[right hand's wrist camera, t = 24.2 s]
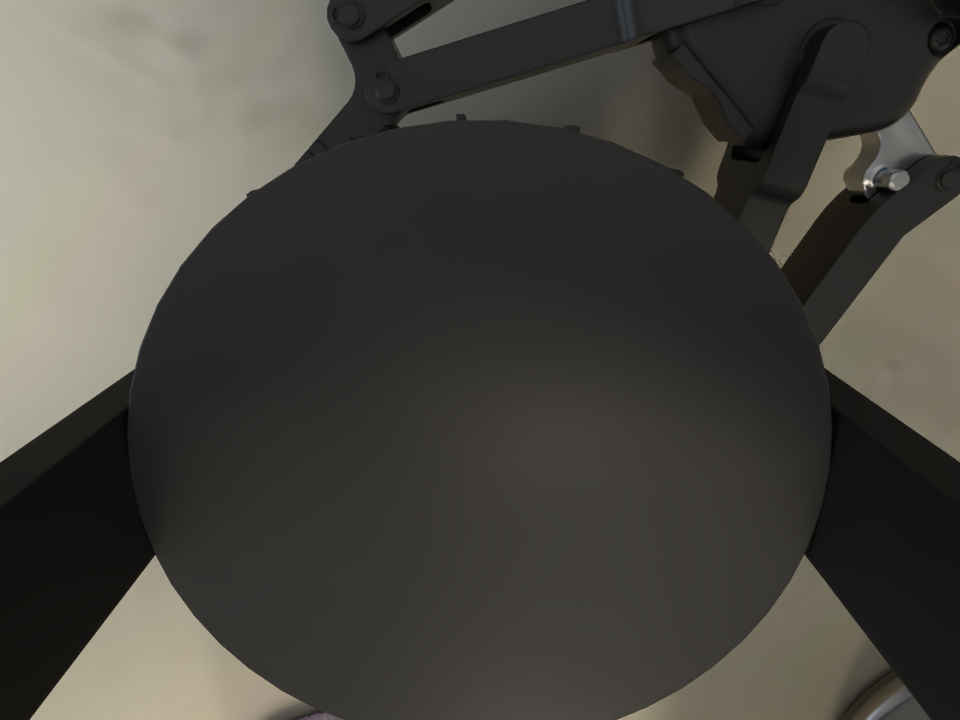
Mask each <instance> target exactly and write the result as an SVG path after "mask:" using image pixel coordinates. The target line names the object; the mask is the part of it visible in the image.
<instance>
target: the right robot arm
mask: <svg viewBox="0 0 960 720" xmlns="http://www.w3.org/2000/svg"><path fill="white" fill-rule="evenodd" d="M824 369H825V368H824ZM134 371H135V369H134V370H133V371H131V372H130V373H128V374H127V375H126V376H124V377H123V378H121V379H120V380H118V381H117V382H116V383H114V384H113V385H111V386H110V387H108V388H107V389H105V390H104V391H103V392H101V393H100V394H98V395H97V396H95V397H94V398H93V399H91V400H90V401H88V402H87V403H85V404H84V405H82V406H81V407H80V408H78V409H77V410H75V411H74V412H72V413H71V414H70V415H68V416H67V417H65V418H64V419H62V420H61V421H59V422H58V423H57V424H55V425H54V426H52V427H51V428H49V429H48V430H46V431H45V432H44V433H42V434H41V435H39V436H38V437H36V438H35V439H34V440H32V441H31V442H29V443H28V444H26V445H25V446H23V447H22V448H21V449H19V450H18V451H16V452H15V453H13V454H12V455H11V456H9V457H8V458H6V459H5V460H3V461H2V462H0V720H30V718H31V717H32V716H33V714H34V713H35V712H36V711H37V709H38V708H39V707H40V705H41V704H42V703H43V701H44V700H45V699H46V697H47V696H48V695H49V693H50V692H51V691H52V690H53V688H54V687H55V686H56V684H57V683H58V682H59V680H60V679H61V678H62V676H63V675H64V674H65V672H66V671H67V670H68V669H69V667H70V666H71V665H72V663H73V662H74V661H75V659H76V658H77V657H78V655H79V654H80V653H81V652H82V650H83V649H84V648H85V646H86V645H87V644H88V642H89V641H90V640H91V638H92V637H93V636H94V634H95V633H96V632H97V631H98V629H99V628H100V627H101V625H102V624H103V623H104V621H105V620H106V619H107V617H108V616H109V615H110V613H111V612H112V611H113V610H114V608H115V607H116V606H117V604H118V603H119V602H120V600H121V599H122V598H123V596H124V595H125V594H126V593H127V591H128V590H129V589H130V587H131V586H132V585H133V583H134V582H135V581H136V579H137V578H138V577H139V575H140V574H141V573H142V572H143V570H144V569H145V568H146V566H147V565H148V564H149V562H150V561H151V560H152V558H153V557H154V556H155V553H154V551H153V549H152V547H151V544H150V541H149V539H148V536H147V533H146V531H145V528H144V525H143V523H142V520H141V517H140V513H139V509H138V504H137V500H136V495H135V491H134V486H133V481H132V477H131V472H130V466H129V455H128V441H127V424H128V411H129V398H130V388H131V384H132V380H133V376H134ZM825 373H826V377H827V381H828V385H829V394H830V405H831V416H832V427H833V430H832V447H831V463H830V473H829V477H828V482H827V487H826V491H825V496H824V501H823V505H822V510H821V513H820V515H819V518H818V521H817V524H816V526H815V529H814V532H813V535H812V538H811V540H810V543H809V546H808V548H807V550H806V552H805V555H806V557H807V558H808V559H809V560H810V562H811V563H812V564H813V566H814V567H815V568H816V570H817V571H818V572H819V574H820V575H821V576H822V578H823V579H824V580H825V581H826V583H827V584H828V585H829V587H830V588H831V589H832V591H833V592H834V593H835V595H836V596H837V597H838V598H839V600H840V601H841V602H842V604H843V605H844V606H845V608H846V609H847V610H848V612H849V613H850V614H851V616H852V617H853V618H854V619H855V621H856V622H857V623H858V625H859V626H860V627H861V629H862V630H863V631H864V633H865V634H866V635H867V637H868V638H869V639H870V640H871V642H872V643H873V644H874V646H875V647H876V648H877V650H878V651H879V652H880V654H881V655H882V656H883V657H884V659H885V660H886V661H887V663H888V664H889V665H890V667H891V668H892V669H893V671H894V672H895V673H896V675H897V676H898V677H899V678H900V680H901V681H902V682H903V684H904V685H905V686H906V688H907V689H908V690H909V692H910V693H911V694H912V696H913V697H914V698H915V699H916V701H917V702H918V703H919V705H920V706H921V707H922V709H923V710H924V711H925V713H926V714H927V715H928V716H929V718H930V719H931V720H960V462H959V461H957V460H956V459H954V458H953V457H951V456H950V455H949V454H947V453H946V452H944V451H943V450H941V449H940V448H938V447H937V446H936V445H934V444H933V443H931V442H930V441H928V440H927V439H926V438H924V437H923V436H921V435H920V434H918V433H917V432H915V431H914V430H913V429H911V428H910V427H908V426H907V425H905V424H904V423H902V422H901V421H900V420H898V419H897V418H895V417H894V416H892V415H891V414H890V413H888V412H887V411H885V410H884V409H882V408H881V407H879V406H878V405H877V404H875V403H874V402H872V401H871V400H869V399H868V398H867V397H865V396H864V395H862V394H861V393H859V392H858V391H856V390H855V389H854V388H852V387H851V386H849V385H848V384H846V383H845V382H844V381H842V380H841V379H839V378H838V377H836V376H835V375H833V374H832V373H831V372H829V371H828V370H826V369H825Z"/></svg>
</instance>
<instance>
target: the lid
mask: <svg viewBox="0 0 960 720" xmlns="http://www.w3.org/2000/svg"><path fill="white" fill-rule="evenodd" d="M456 119H457V121H444V122H437V123H430V124H423V125H417V126H410V127H403V128H396V129H392V130H389V131H385V132H382V133H379V134H375V135H372V136H368V137H365V138H363V136H353V137H347V138H344V139H343V142H344V144H342V145H339V146H337V147H335V148H333V149H331V150H328V151H326V152H324V153H322V154H320V155H318V156H315V157H313V158H311V159H309V160H307V161H305V162H302V163H300V164H298V165H296V166H294V167H292V168H290V169H289V170H287V171H286V172H284V173H283V174H281V175H280V176H278V177H277V178H275V179H274V180H272V181H270V182H269V183H267V184H266V185H264V186H263V187H261V188H260V189H257V190H253V191H251V192H249V193H248V194H247V198H246V199H245V200H244V201H242V202H241V203H240V204H239V205H238V206H237V207H236V208H234V209H233V210H232V211H231V212H230V213H229V214H228V215H227V216H225V217H224V218H223V219H222V220H221V221H220V222H219V223H218V224H216V225H215V226H214V227H213V228H212V229H211V230H210V231H209V233H208V234H207V235H206V236H205V237H204V239H203V240H202V241H201V242H200V243H199V245H198V246H197V247H196V248H195V249H194V251H193V252H192V253H191V254H190V255H189V257H188V258H187V259H186V260H185V261H184V263H183V264H182V265H181V267H180V268H179V270H178V272H177V273H176V275H175V277H174V278H173V280H172V281H171V283H170V285H169V286H168V288H167V290H166V291H165V293H164V295H163V296H162V298H161V300H160V301H159V303H158V305H157V307H156V309H155V312H154V314H153V317H152V319H151V322H150V324H149V327H148V329H147V332H146V334H145V336H144V339H143V341H142V344H141V346H140V350H139V354H138V359H137V363H136V367H135V371H134V376H133V380H132V384H131V388H130V398H129V411H128V424H127V441H128V455H129V466H130V472H131V477H132V481H133V486H134V491H135V495H136V500H137V504H138V509H139V513H140V517H141V520H142V523H143V525H144V528H145V531H146V533H147V536H148V539H149V541H150V544H151V547H152V549H153V551H154V553H155V555H156V557H157V558H158V560H159V562H160V564H161V566H162V568H163V570H164V571H165V573H166V575H167V577H168V579H169V581H170V583H171V584H172V586H173V587H174V588H175V590H176V591H177V593H178V594H179V595H180V597H181V598H182V600H183V601H184V602H185V604H186V605H187V606H188V608H189V609H190V611H191V612H192V613H193V615H194V616H195V617H196V618H197V619H198V620H199V621H200V623H201V624H202V625H203V626H204V627H205V628H206V629H207V630H208V631H209V632H210V633H211V634H212V635H213V637H214V638H215V639H216V640H217V641H218V642H219V643H220V644H221V645H222V646H223V647H225V648H226V649H227V650H228V651H229V652H230V653H232V654H233V655H234V656H235V657H236V658H237V659H239V660H240V661H241V662H242V663H243V664H244V665H246V666H247V667H248V668H249V669H250V670H252V671H253V672H255V673H256V674H258V675H259V676H261V677H262V678H264V679H265V680H267V681H268V682H270V683H271V684H273V685H274V686H276V687H277V688H278V689H280V690H282V691H283V692H285V693H287V694H289V695H291V696H293V697H295V698H297V699H298V700H300V701H302V702H304V703H306V704H308V705H310V706H312V707H313V708H316V709H318V710H320V711H323V712H325V713H328V714H330V715H333V716H335V717H338V718H340V719H343V720H617V719H620V718H622V717H624V716H627V715H629V714H632V713H634V712H636V711H639V710H641V709H644V708H646V707H648V706H650V705H652V704H654V703H656V702H657V701H659V700H661V699H663V698H665V697H667V696H668V695H670V694H672V693H674V692H676V691H678V690H679V689H681V688H683V687H684V686H686V685H687V684H689V683H690V682H691V681H693V680H694V679H696V678H697V677H699V676H700V675H702V674H703V673H704V672H706V671H707V670H709V669H710V668H712V667H713V666H714V665H715V664H716V663H718V662H719V661H720V660H721V659H722V658H723V657H724V656H726V655H727V654H728V653H729V652H730V651H731V650H733V649H734V648H735V647H736V646H737V645H738V644H739V643H741V642H742V641H743V640H744V638H745V637H746V636H747V635H748V634H749V633H750V632H751V631H752V630H753V628H754V627H755V626H756V625H757V624H758V623H759V622H760V621H761V620H762V619H763V617H764V616H765V615H766V614H767V613H768V612H769V610H770V609H771V607H772V606H773V605H774V603H775V602H776V600H777V599H778V597H779V596H780V595H781V593H782V592H783V590H784V589H785V587H786V586H787V585H788V583H789V582H790V580H791V578H792V576H793V574H794V573H795V571H796V569H797V567H798V565H799V563H800V561H801V559H802V557H803V555H804V554H805V552H806V550H807V548H808V546H809V543H810V540H811V538H812V535H813V532H814V529H815V526H816V524H817V521H818V518H819V515H820V513H821V510H822V505H823V501H824V496H825V491H826V487H827V482H828V477H829V473H830V463H831V447H832V430H833V427H832V416H831V405H830V394H829V385H828V381H827V377H826V373H825V369H824V365H823V361H822V357H821V353H820V349H819V345H818V342H817V340H816V337H815V335H814V333H813V330H812V328H811V325H810V323H809V321H808V318H807V316H806V314H805V311H804V309H803V307H802V304H801V302H800V300H799V299H798V297H797V295H796V294H795V292H794V290H793V289H792V287H791V286H790V284H789V282H788V281H787V279H786V278H785V276H784V274H783V273H782V271H781V270H780V268H779V266H778V265H777V263H776V262H775V260H774V259H773V258H772V257H771V256H770V255H769V253H768V252H767V251H766V250H765V249H764V248H763V246H762V244H761V243H760V242H759V241H758V240H757V239H756V238H755V237H754V236H753V235H752V234H751V232H750V231H749V230H748V229H747V228H746V227H745V225H744V224H742V223H741V222H740V221H739V220H738V219H737V218H735V217H734V216H733V215H732V214H731V213H730V212H728V211H727V210H726V209H725V208H724V207H723V206H721V205H720V204H719V203H718V202H717V201H716V200H715V199H713V198H712V197H711V196H710V195H709V194H708V193H706V192H705V191H703V190H702V189H700V188H699V187H697V186H695V185H694V184H692V183H691V182H689V181H687V180H686V179H684V178H683V177H682V176H683V175H684V173H682V172H681V171H679V170H676V169H671V168H667V167H665V166H664V165H662V164H660V163H658V162H655V161H653V160H651V159H649V158H646V157H644V156H642V155H640V154H637V153H635V152H633V151H631V150H628V149H626V148H624V147H622V146H619V145H617V144H615V143H612V142H609V141H605V140H602V139H598V138H595V137H591V136H588V135H584V134H581V133H579V132H580V128H581V127H578V126H575V125H572V126H564V127H563V128H558V127H551V126H543V125H536V124H529V123H521V122H514V121H506V120H479V121H466V116H465V115H464V114H457V115H456Z"/></svg>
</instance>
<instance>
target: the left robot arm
mask: <svg viewBox="0 0 960 720" xmlns="http://www.w3.org/2000/svg"><path fill="white" fill-rule="evenodd" d="M453 1H454V0H330V2H329V5H328V8H327V19H328V21H329V24H330V27H331V29H332V30H333V31H334V32H335V34H336V35H337V36H338V38H339V40H340V42H341V44H342V46H343V48H344V50H345V52H346V54H347V56H348V58H349V60H350V62H351V64H352V67H353V69H354V72H355V79H356V82H355V89H354V92H353V95H352V97H351V98H350V100H349V101H348V103H347V104H346V105H345V106H344V107H343V109H342V110H341V111H340V112H339V113H338V114H337V116H336V117H335V118H334V119H333V120H332V122H331V123H330V124H329V125H328V126H327V127H326V129H325V130H324V131H323V132H322V133H321V135H320V136H319V137H318V139H317V140H315V142H314V143H313V144H312V145H311V146H310V148H309V149H308V150H307V151H306V152H305V153H304V155H303V156H302V157H301V158H300V159H299V161H298V162H297V163H296V164H295V165H294V166H296V165H298V164H300V163H302V162H305V161H307V160H309V159H311V158H313V157H315V156H318V155H320V154H322V153H324V152H326V151H328V150H331V149H333V148H335V147H337V146H339V145H342V144H344V142H343V139H344V138H347V137H353V136H363V138H365V137H368V136H372V135H375V134H379V133H382V132H385V131H389V130H392V129H396V128H399V127H398V126H397V124H398V123H399V122H400V121H401V120H402V118H403V117H404V116H407V114H410V113H413V112H416V111H419V110H423V109H426V108H429V107H433V106H436V105H439V104H442V103H446V102H449V101H452V100H456V99H459V98H462V97H466V96H469V95H472V94H475V93H479V92H482V91H485V90H489V89H492V88H495V87H498V86H502V85H505V84H508V83H512V82H515V81H518V80H522V79H525V78H528V77H531V76H535V75H538V74H541V73H545V72H548V71H551V70H554V69H558V68H561V67H564V66H568V65H571V64H574V63H578V62H581V61H584V60H587V59H591V58H594V57H597V56H601V55H604V54H609V53H613V52H617V51H620V50H623V49H627V48H630V47H633V46H637V45H640V44H643V43H647V42H650V41H651V43H652V48H653V51H654V54H655V57H656V58H655V59H654V61H653V62H652V63H653V64H654V65H655V67H656V68H657V69H658V70H659V71H660V72H661V74H662V75H663V76H664V77H665V78H666V80H667V81H668V82H669V83H671V84H672V85H674V86H675V87H677V88H678V89H680V90H681V91H683V92H684V93H686V94H687V95H689V96H690V97H691V98H692V100H693V102H694V104H695V107H696V109H697V111H698V114H699V116H700V118H701V120H702V123H703V124H704V125H705V126H706V127H707V129H708V130H709V131H710V132H711V133H712V135H713V136H714V137H715V138H716V139H717V141H724V142H728V146H727V148H726V151H725V154H724V156H723V159H722V162H721V164H720V167H719V170H718V175H717V182H718V187H717V191H716V194H715V196H714V199H715V200H716V201H717V202H718V203H719V204H720V205H721V206H723V207H724V208H725V209H726V210H727V211H728V212H730V213H731V214H732V215H733V216H734V217H735V218H737V219H738V220H739V221H740V222H741V223H742V224H744V225H745V227H746V228H747V229H748V230H749V231H750V232H751V234H752V235H753V236H754V237H755V238H756V239H757V240H758V241H759V242H760V243H761V244H762V246H763V248H764V249H765V250H766V251H767V252H768V253H769V252H770V249H771V247H772V245H773V242H774V240H775V237H776V235H777V233H778V230H779V228H780V226H781V223H782V221H783V218H784V216H785V214H786V211H787V209H788V208H789V206H790V205H791V204H792V203H793V202H794V201H796V200H797V199H798V198H799V197H800V196H801V195H802V193H803V192H804V190H805V188H806V186H807V184H808V182H809V179H810V177H811V175H812V172H813V170H814V168H815V165H816V163H817V161H818V158H819V156H820V153H821V151H822V149H823V146H824V144H825V142H826V140H831V139H837V138H843V137H849V136H855V135H860V137H861V140H862V148H861V152H860V154H859V156H858V158H857V159H856V161H855V162H854V163H853V164H852V166H850V167H849V168H847V169H846V171H845V172H844V175H843V180H844V182H845V183H846V188H845V189H844V190H843V191H842V192H841V193H839V194H838V195H837V196H836V197H835V198H834V199H833V200H832V201H831V202H830V203H829V204H828V206H827V207H826V208H825V209H824V210H823V212H822V213H821V214H820V215H819V217H818V218H817V219H816V221H815V222H814V223H813V225H812V226H811V228H810V229H809V230H808V232H807V233H806V235H805V236H804V237H803V239H802V240H801V242H800V243H799V244H798V246H797V247H796V249H795V250H794V251H793V253H792V254H791V256H790V257H789V258H788V260H787V261H786V263H785V264H784V265H783V267H782V268H781V271H782V273H783V274H784V276H785V278H786V279H787V281H788V282H789V284H790V286H791V287H792V289H793V290H794V292H795V294H796V295H797V297H798V299H799V300H800V302H801V304H802V307H803V309H804V311H805V314H806V316H807V318H808V321H809V323H810V325H811V328H812V330H813V333H814V335H815V337H816V340H817V342H818V345H820V344H821V342H822V341H823V340H824V339H825V337H826V336H827V335H828V333H829V332H830V331H831V329H832V328H833V327H834V326H835V324H836V323H837V322H838V320H839V319H840V318H841V316H842V315H843V314H844V313H845V311H846V310H847V309H848V307H849V306H850V305H851V303H852V302H853V301H854V299H855V298H856V297H857V296H858V294H859V293H860V292H861V290H862V289H863V288H864V286H865V285H866V284H867V283H868V281H869V280H870V279H871V277H872V276H873V275H874V273H875V272H876V271H877V270H878V268H879V267H880V266H881V264H882V263H883V262H884V260H885V259H886V258H887V256H888V255H889V254H890V253H891V251H892V250H893V249H894V247H895V246H896V245H897V243H898V242H899V241H900V240H901V238H902V237H903V236H904V235H905V234H906V233H908V232H909V231H911V230H912V229H913V228H915V227H916V226H917V225H919V224H920V223H921V222H923V221H924V220H925V219H927V218H928V217H929V216H931V215H932V214H933V213H935V212H936V211H938V210H939V209H940V208H942V207H943V206H944V205H946V204H947V203H948V202H950V201H951V200H952V199H954V198H955V197H956V196H958V195H959V194H960V157H957V156H948V155H938V154H936V152H935V151H934V149H933V148H932V146H931V144H930V143H929V141H928V139H927V138H926V136H925V134H924V133H923V131H922V130H921V128H920V126H919V125H918V123H917V121H916V120H915V118H914V116H913V115H912V113H911V111H910V109H911V108H912V106H913V105H914V103H915V101H916V99H917V97H918V95H919V93H920V91H921V89H922V86H923V85H924V83H925V81H926V79H927V77H928V76H929V74H930V73H931V71H932V70H933V69H934V67H935V66H936V65H937V64H938V62H939V61H940V60H941V59H942V58H944V57H945V56H946V55H947V54H948V53H949V52H951V51H952V50H953V49H955V48H956V47H957V46H958V45H960V0H587V1H583V2H580V3H577V4H574V5H571V6H567V7H564V8H561V9H558V10H555V11H551V12H548V13H545V14H542V15H539V16H535V17H532V18H529V19H526V20H523V21H519V22H516V23H513V24H510V25H507V26H503V27H500V28H497V29H494V30H491V31H487V32H484V33H481V34H478V35H475V36H471V37H468V38H465V39H462V40H459V41H455V42H452V43H449V44H446V45H443V46H439V47H436V48H433V49H430V50H427V51H423V52H420V53H417V54H414V55H411V56H407V57H404V58H402V57H401V55H400V52H399V50H398V48H397V46H396V44H395V42H394V39H395V38H397V37H398V36H400V35H401V34H403V33H404V32H406V31H408V30H409V29H411V28H412V27H414V26H415V25H417V24H418V23H420V22H422V21H423V20H425V19H426V18H428V17H429V16H431V15H432V14H434V13H436V12H437V11H439V10H440V9H442V8H443V7H445V6H446V5H448V4H450V3H451V2H453ZM842 720H931V719H930V718H929V716H928V715H927V714H926V713H925V711H924V710H923V709H922V707H921V706H920V705H919V703H918V702H917V701H916V699H915V698H914V697H913V696H912V694H911V693H910V692H909V690H908V689H907V688H906V686H905V685H904V684H903V682H902V681H901V680H900V678H899V677H898V676H897V675H896V673H895V672H894V671H893V672H891V673H889V674H888V675H886V676H885V677H884V678H882V679H881V680H879V681H878V682H877V683H875V684H874V685H873V686H872V687H870V688H869V689H868V690H867V691H866V692H865V693H864V694H863V695H862V696H861V697H860V698H859V699H858V700H857V701H856V702H855V703H854V704H853V705H852V706H851V708H850V709H849V710H848V712H847V713H846V714H845V716H844V717H843V719H842Z"/></svg>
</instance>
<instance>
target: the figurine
mask: <svg viewBox="0 0 960 720" xmlns="http://www.w3.org/2000/svg"><path fill="white" fill-rule="evenodd" d="M297 720H343V719H340V718H338V717H335V716H333V715H330V714H328V713H325V712H324V713H317V714H313V715H311V716H305V717H304V718H301V719H297Z"/></svg>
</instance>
